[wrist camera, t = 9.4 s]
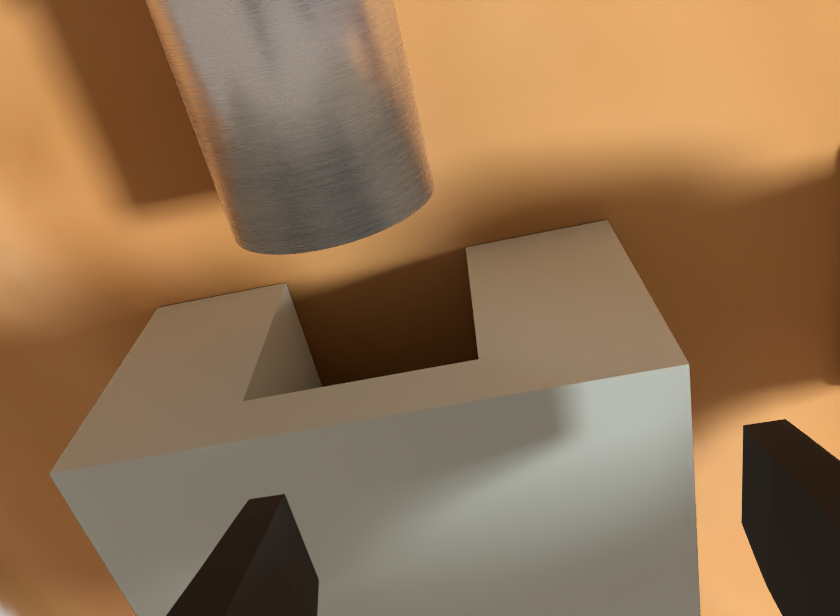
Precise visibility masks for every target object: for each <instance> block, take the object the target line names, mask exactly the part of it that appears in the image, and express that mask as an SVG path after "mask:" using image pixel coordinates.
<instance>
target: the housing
mask: <svg viewBox="0 0 840 616" xmlns="http://www.w3.org/2000/svg"><path fill="white" fill-rule="evenodd" d="M466 255H467V263H468V272H469V281H470V289H471V298H472V307H473V315H474V324H475V333H476V341H477V350H478V358H479V359H477V360H471V361H466V362H460V363H454V364H449V365H443V366H438V367H432V368H426V369H421V370H415V371H410V372H404V373H398V374H393V375H387V376H381V377H376V378H370V379H365V380H359V381H353V382H348V383H342V384H337V385H331V386H325V387H322V384H321V381H320V378H319V376H318V373H317V370H316V367H315V364H314V361H313V358H312V355H311V353H310V350H309V347H308V344H307V341H306V338H305V335H304V333H303V330H302V327H301V324H300V321H299V318H298V315H297V312H296V310H295V307H294V304H293V301H292V298H291V295H290V292H289V289H288V287H287V284H286V283H281V284H276V285H271V286H266V287H261V288H256V289H251V290H246V291H241V292H236V293H230V294H225V295H220V296H215V297H210V298H205V299H200V300H195V301H190V302H184V303H179V304H174V305H169V306H164V307H159V308H157V310H156V311H155V313H154V314H153V316H152V317H151V319H150V320H149V322H148V323H147V325H146V327H145V328H144V330H143V331H142V333H141V334H140V336H139V337H138V339H137V340H136V342H135V343H134V345H133V346H132V348H131V349H130V351H129V352H128V354H127V355H126V357H125V359H124V360H123V362H122V363H121V365H120V366H119V368H118V369H117V371H116V372H115V374H114V375H113V377H112V378H111V380H110V381H109V383H108V384H107V386H106V387H105V389H104V390H103V392H102V394H101V395H100V397H99V398H98V400H97V401H96V403H95V404H94V406H93V407H92V409H91V410H90V412H89V413H88V415H87V416H86V418H85V419H84V421H83V422H82V424H81V425H80V427H79V429H78V430H77V432H76V433H75V435H74V436H73V438H72V439H71V441H70V442H69V444H68V445H67V447H66V448H65V450H64V451H63V453H62V454H61V456H60V457H59V459H58V461H57V462H56V464H55V465H54V467H53V468H52V470H51V471H50V473H49V475H50V477H51V479H52V480H53V482H54V483H55V485H56V487H57V488H58V490H59V491H60V493H61V495H62V496H63V498H64V500H65V501H66V503H67V504H68V506H69V508H70V509H71V511H72V512H73V514H74V516H75V517H76V519H77V521H78V522H79V524H80V525H81V527H82V529H83V530H84V532H85V533H86V535H87V537H88V538H89V540H90V541H91V543H92V545H93V546H94V548H95V550H96V551H97V553H98V554H99V556H100V558H101V559H102V561H103V562H104V564H105V566H106V567H107V569H108V571H109V572H110V574H111V575H112V577H113V579H114V580H115V582H116V583H117V585H118V587H119V588H120V590H121V592H122V593H123V595H124V596H125V598H126V600H127V601H128V603H129V604H130V606H131V608H132V609H133V611H134V613H135V614H136V616H166V615H167V613H168V612H169V611H170V609H171V608H172V607H173V605H174V604H175V602H176V601H177V600H178V598H179V597H180V596H181V594H182V593H183V591H184V590H185V589H186V587H187V586H188V585H189V583H190V582H191V580H192V579H193V578H194V576H195V575H196V574H197V572H198V571H199V569H200V568H201V566H202V565H203V564H204V562H205V561H206V559H207V558H208V556H209V555H210V554H211V552H212V551H213V549H214V548H215V546H216V545H217V544H218V542H219V541H220V539H221V538H222V536H223V535H224V533H225V532H226V531H227V529H228V528H229V526H230V525H231V523H232V522H233V521H234V519H235V518H236V516H237V515H238V514H239V512H240V511H241V509H242V508H243V507H244V505H245V504H246V503H247V501H248V500H249V499H254V498H260V497H267V496H274V495H281V494H285V496H286V498H287V501H288V503H289V506H290V508H291V511H292V513H293V516H294V518H295V521H296V523H297V526H298V528H299V531H300V533H301V536H302V538H303V541H304V544H305V546H306V549H307V551H308V554H309V556H310V559H311V561H312V564H313V566H314V569H315V571H316V574H317V576H318V579H319V589H318V610H317V616H700V595H699V572H698V549H697V527H696V504H695V481H694V459H693V436H692V413H691V391H690V368H689V363H688V361H687V359H686V357H685V356H684V354H683V352H682V350H681V348H680V347H679V345H678V343H677V341H676V340H675V338H674V336H673V334H672V333H671V331H670V329H669V327H668V326H667V324H666V322H665V320H664V319H663V317H662V315H661V313H660V312H659V310H658V308H657V306H656V305H655V303H654V301H653V299H652V298H651V296H650V294H649V292H648V290H647V289H646V287H645V285H644V283H643V282H642V280H641V278H640V276H639V275H638V273H637V271H636V269H635V268H634V266H633V264H632V262H631V261H630V259H629V257H628V255H627V254H626V252H625V250H624V248H623V247H622V245H621V243H620V241H619V240H618V238H617V236H616V234H615V232H614V231H613V229H612V227H611V225H610V224H609V222H608V220H603V221H598V222H593V223H588V224H583V225H578V226H573V227H568V228H562V229H557V230H552V231H547V232H542V233H537V234H532V235H527V236H522V237H516V238H511V239H506V240H501V241H496V242H491V243H486V244H481V245H476V246H471V247H466Z"/></svg>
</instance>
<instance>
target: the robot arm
mask: <svg viewBox="0 0 840 616" xmlns="http://www.w3.org/2000/svg"><path fill="white" fill-rule="evenodd" d="M742 525H743V527H744V530H745V533H746V535H747V538H748V540H749V543H750V546H751V548H752V551H753V553H754V556H755V558H756V561H757V563H758V566H759V568H760V571H761V573H762V575H763V578H764V580H765V583H766V585H767V587H768V589H769V591H770V593H771V595H772V597H773V599H774V601H775V602H776V604H777V606H778V608H779V610H780V612H781V614H782V616H840V460H838V459H837V458H836V457H834V456H833V455H832V454H830V453H829V452H828V451H826V450H825V449H824V448H823V447H821V446H820V445H819V444H817V443H816V442H815V441H813V440H812V439H811V438H810V437H808V436H807V435H806V434H804V433H803V432H802V431H800V430H799V429H798V428H796V427H795V426H794V425H792V424H791V423H790V422H788V421H787V420H786V419H784V420H777V421H770V422H764V423H757V424H750V425H743V476H742ZM318 589H319V579H318V576H317V574H316V571H315V569H314V566H313V564H312V561H311V559H310V556H309V554H308V551H307V549H306V546H305V544H304V541H303V538H302V536H301V533H300V531H299V528H298V526H297V523H296V521H295V518H294V516H293V513H292V511H291V508H290V506H289V503H288V501H287V498H286V496H285V494H281V495H274V496H267V497H260V498H254V499H249V500H248V501H247V503H246V504H245V505H244V507H243V508H242V509H241V511H240V512H239V514H238V515H237V516H236V518H235V519H234V521H233V522H232V523H231V525H230V526H229V528H228V529H227V531H226V532H225V533H224V535H223V536H222V538H221V539H220V541H219V542H218V544H217V545H216V546H215V548H214V549H213V551H212V552H211V554H210V555H209V556H208V558H207V559H206V561H205V562H204V564H203V565H202V566H201V568H200V569H199V571H198V572H197V574H196V575H195V576H194V578H193V579H192V580H191V582H190V583H189V585H188V586H187V587H186V589H185V590H184V591H183V593H182V594H181V596H180V597H179V598H178V600H177V601H176V602H175V604H174V605H173V607H172V608H171V609H170V611H169V612H168V613H167V615H166V616H317V610H318Z"/></svg>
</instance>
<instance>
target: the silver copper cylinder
mask: <svg viewBox="0 0 840 616" xmlns="http://www.w3.org/2000/svg"><path fill="white" fill-rule="evenodd" d="M145 1H146V4H147V7H148V9H149V12H150V15H151V17H152V20H153V23H154V25H155V28H156V31H157V33H158V36H159V39H160V41H161V44H162V47H163V49H164V52H165V55H166V57H167V60H168V63H169V65H170V68H171V71H172V73H173V76H174V79H175V81H176V84H177V87H178V89H179V92H180V95H181V97H182V100H183V103H184V105H185V108H186V111H187V113H188V116H189V119H190V121H191V124H192V127H193V129H194V132H195V135H196V137H197V140H198V143H199V145H200V148H201V151H202V153H203V156H204V159H205V161H206V164H207V167H208V169H209V172H210V175H211V177H212V180H213V183H214V185H215V188H216V191H217V193H218V196H219V199H220V201H221V204H222V207H223V209H224V212H225V215H226V217H227V220H228V223H229V225H230V228H231V231H232V233H233V236H234V239H235V241H236V243H237V244H238V245H239V246H240V247H242V248H243V249H246V250H248V251H251V252H256V253H262V254H279V255H281V254H296V253H305V252H311V251H317V250H322V249H327V248H331V247H336V246H339V245H343V244H346V243H350V242H353V241H356V240H359V239H362V238H365V237H367V236H370V235H373V234H375V233H378V232H380V231H382V230H384V229H387V228H389V227H391V226H393V225H395V224H397V223H398V222H400V221H402V220H404V219H405V218H407V217H408V216H410V215H412V214H413V213H414V212H416V211H417V210H418V209H420V208H421V207H422V206H423V205H424V204H425V203H426V202H427V201H428V199H429V198H430V197H431V195H432V193H433V190H434V184H433V179H432V175H431V170H430V166H429V161H428V156H427V152H426V147H425V143H424V138H423V134H422V129H421V125H420V120H419V115H418V111H417V106H416V102H415V97H414V93H413V88H412V84H411V79H410V74H409V70H408V65H407V61H406V56H405V52H404V47H403V43H402V38H401V34H400V29H399V24H398V20H397V15H396V11H395V6H394V2H393V0H145Z"/></svg>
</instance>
